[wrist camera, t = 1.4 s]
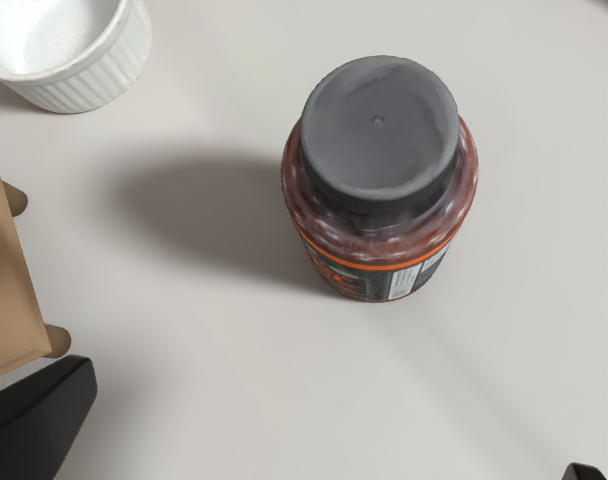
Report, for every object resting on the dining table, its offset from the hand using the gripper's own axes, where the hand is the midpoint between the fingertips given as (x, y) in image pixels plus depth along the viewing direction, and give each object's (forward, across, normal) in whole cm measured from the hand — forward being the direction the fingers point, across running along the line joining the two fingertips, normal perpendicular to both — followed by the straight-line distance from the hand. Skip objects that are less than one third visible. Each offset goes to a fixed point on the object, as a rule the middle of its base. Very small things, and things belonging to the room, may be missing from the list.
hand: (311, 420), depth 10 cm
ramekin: (+20, +17, -1) cm, 26 cm away
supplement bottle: (+14, 0, +4) cm, 15 cm away
